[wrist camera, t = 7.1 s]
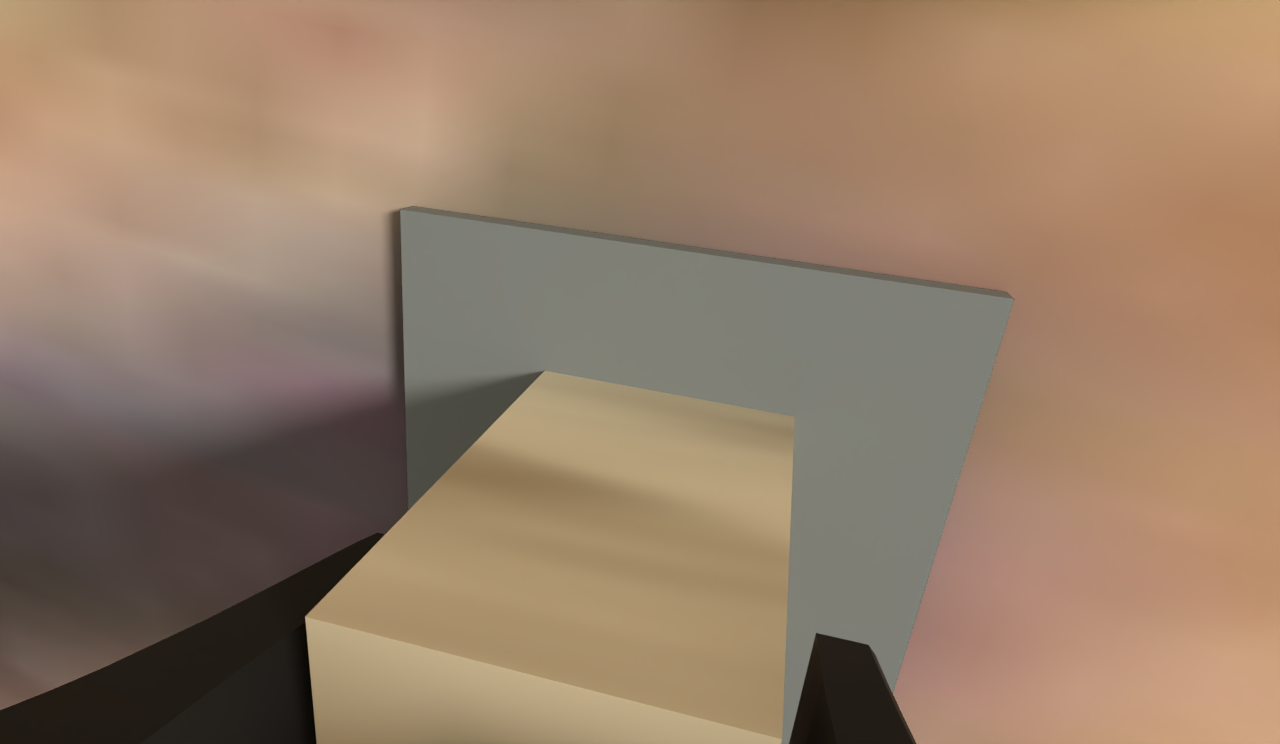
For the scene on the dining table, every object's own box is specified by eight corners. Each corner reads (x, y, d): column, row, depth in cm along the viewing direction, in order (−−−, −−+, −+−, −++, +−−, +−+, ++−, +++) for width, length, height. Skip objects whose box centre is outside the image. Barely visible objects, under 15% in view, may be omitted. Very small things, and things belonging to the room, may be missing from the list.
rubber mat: (1007, 292, 10) (1013, 299, 10) (866, 756, 13) (867, 775, 13) (413, 205, 11) (400, 209, 11) (421, 644, 15) (412, 658, 14)
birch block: (752, 624, 12) (707, 1042, 7) (533, 572, 13) (332, 917, 7) (794, 416, 11) (782, 739, 5) (544, 370, 11) (304, 616, 6)
